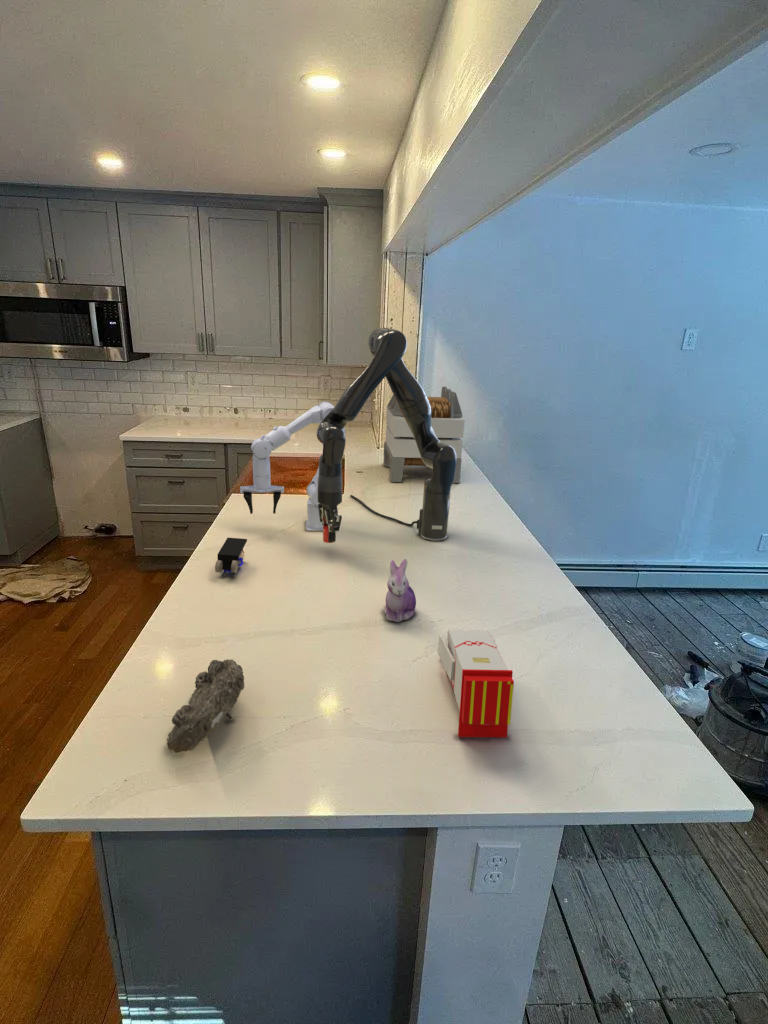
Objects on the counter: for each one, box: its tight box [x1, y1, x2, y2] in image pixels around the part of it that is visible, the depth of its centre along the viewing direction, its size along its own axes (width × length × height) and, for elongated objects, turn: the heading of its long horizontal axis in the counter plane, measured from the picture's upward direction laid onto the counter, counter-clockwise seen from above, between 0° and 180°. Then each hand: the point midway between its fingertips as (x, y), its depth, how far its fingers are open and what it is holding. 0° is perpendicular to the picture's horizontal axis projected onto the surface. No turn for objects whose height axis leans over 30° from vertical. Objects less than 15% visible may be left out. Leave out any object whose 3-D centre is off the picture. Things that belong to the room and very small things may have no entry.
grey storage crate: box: [383, 386, 465, 484], centre depth 268 cm, size 34×33×41 cm
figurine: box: [384, 558, 417, 623], centre depth 145 cm, size 9×10×15 cm
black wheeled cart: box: [214, 537, 248, 578], centre depth 166 cm, size 7×8×15 cm
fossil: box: [166, 658, 245, 754], centre depth 106 cm, size 22×10×15 cm
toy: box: [437, 628, 515, 738], centre depth 117 cm, size 12×13×30 cm
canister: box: [322, 525, 334, 544], centre depth 179 cm, size 4×4×5 cm
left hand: (263, 512), depth 195 cm, fingers open, 7 cm apart
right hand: (329, 539), depth 180 cm, fingers closed on canister, 3 cm apart
